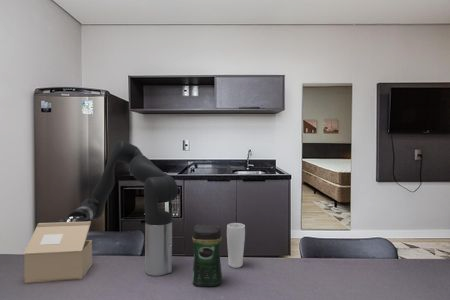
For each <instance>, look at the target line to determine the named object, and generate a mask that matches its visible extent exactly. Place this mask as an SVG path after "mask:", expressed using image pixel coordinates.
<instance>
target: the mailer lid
mask: <svg viewBox="0 0 450 300" xmlns="http://www.w3.org/2000/svg"><path fill="white" fill-rule="evenodd" d="M90 224H91V225H92V220H91V221H89V222H59V223H56V222H39V223H37V225H36V227H35V229H34V232H33V234H32V235H31V238H30V240H29V242H28V244H27V245H26V248H25V250H24V252H23V255H24V256H25V255H29V254H49V253H68V252H82V251H83V247H84V244H85V241H86V240H87V236H88V235H89V231H90V227H91V225H90Z"/></svg>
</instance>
